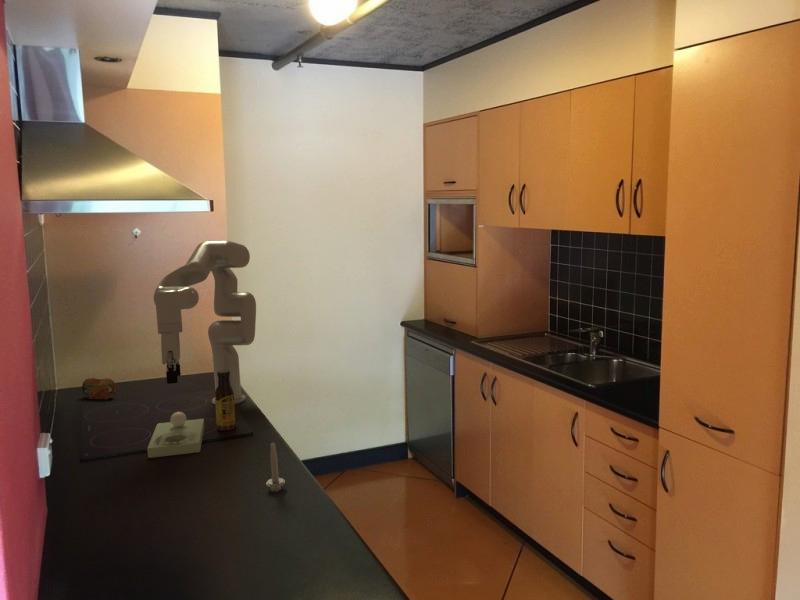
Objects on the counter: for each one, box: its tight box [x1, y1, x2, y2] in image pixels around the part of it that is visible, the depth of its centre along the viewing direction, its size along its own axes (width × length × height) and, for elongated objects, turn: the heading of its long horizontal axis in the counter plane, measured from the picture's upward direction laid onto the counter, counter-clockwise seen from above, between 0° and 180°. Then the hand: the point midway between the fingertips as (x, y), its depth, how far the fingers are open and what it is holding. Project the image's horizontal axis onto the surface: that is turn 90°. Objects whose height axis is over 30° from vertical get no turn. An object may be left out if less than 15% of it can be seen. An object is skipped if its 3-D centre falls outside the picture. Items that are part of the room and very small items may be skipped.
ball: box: [169, 411, 187, 427], centre depth 215 cm, size 5×5×5 cm
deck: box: [146, 418, 206, 459], centre depth 210 cm, size 24×15×3 cm, turn 13°
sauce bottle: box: [214, 370, 236, 432], centre depth 220 cm, size 6×6×20 cm
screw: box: [265, 442, 286, 493], centre depth 170 cm, size 13×5×5 cm
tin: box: [81, 377, 117, 400], centre depth 263 cm, size 15×3×8 cm, turn 73°
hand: (174, 379), depth 213 cm, fingers open, 9 cm apart
